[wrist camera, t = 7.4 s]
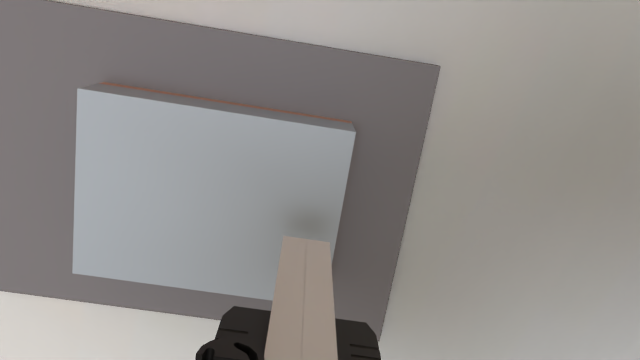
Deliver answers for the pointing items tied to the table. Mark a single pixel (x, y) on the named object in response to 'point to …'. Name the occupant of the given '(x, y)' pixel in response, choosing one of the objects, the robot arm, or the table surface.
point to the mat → (207, 82)
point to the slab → (200, 188)
